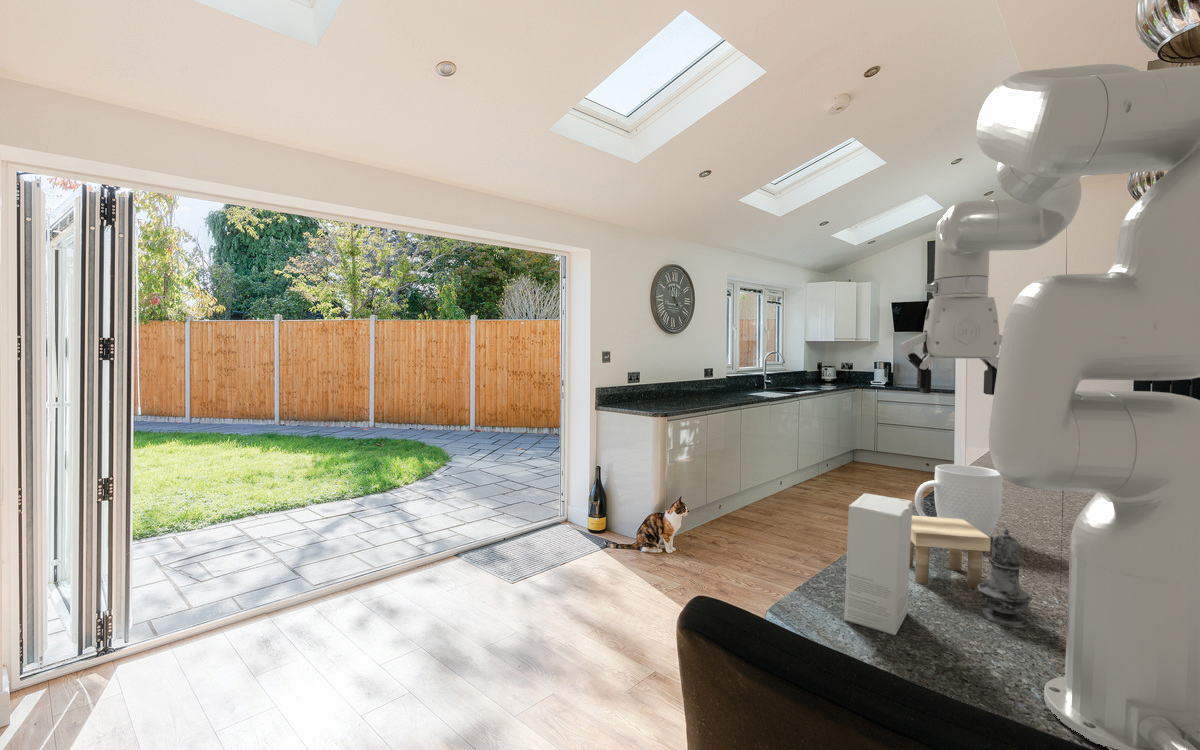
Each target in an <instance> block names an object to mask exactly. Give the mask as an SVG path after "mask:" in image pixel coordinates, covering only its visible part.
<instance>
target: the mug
mask: <svg viewBox="0 0 1200 750" xmlns="http://www.w3.org/2000/svg"><path fill="white" fill-rule="evenodd" d="M933 477H934V480H928V481H925V482H923V483H922V484H920V485H919V487H918V488H917V489H916V491H915V494H914V506H915V510H916V513H917V514H918V516H927V515H926V513H925V512H924V511H923V507H922V496H923V493H924V492H925V490H926V489H927V490H928V488H932V487H933V491H934V492H933V494H934V496H933V497H934V505H935V511H936V517H942V518H957V519H963V520H965V521H966V522H968V523H969V524H971V525H972V526H974V527H975V528H977V529H978V530H979V531H981V532H982V533H984V534H985V535H987V536H988V537H990V536H991V535H992V533H994V531H995V529H996V527H997V524H998V522H999V520H1000V515H1001V512H1002V511H1001V510H1002V502H1003V487H1004V486H1003V477H1002V476H1001V475H1000V474H999V473H998V472H997V470H996V469H992V468H988V467H983V466H977V465H967V464H951V463H950V464H948V463H947V464H946V463H945V464H939V465H935V467H934V476H933ZM927 517H929V516H927Z"/></svg>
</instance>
